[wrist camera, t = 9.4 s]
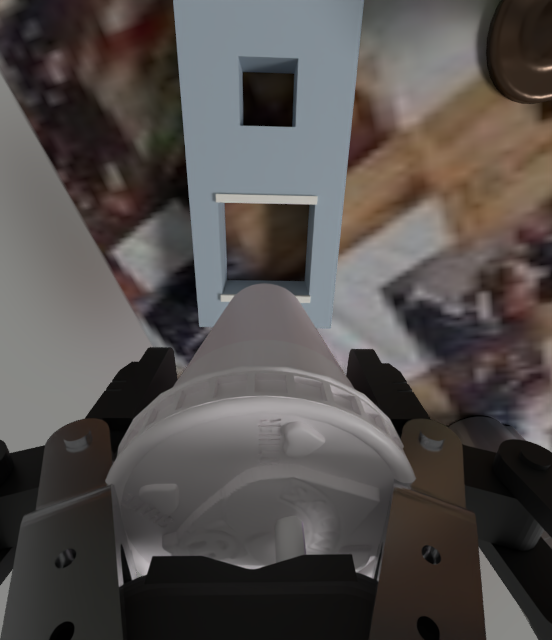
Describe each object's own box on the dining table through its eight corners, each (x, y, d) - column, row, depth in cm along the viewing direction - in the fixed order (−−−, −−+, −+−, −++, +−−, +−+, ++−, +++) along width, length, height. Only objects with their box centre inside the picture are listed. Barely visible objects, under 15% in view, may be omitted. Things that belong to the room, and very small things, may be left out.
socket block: (351, 8, 24) (367, -22, 20) (324, 311, 34) (331, 329, 30) (185, 2, 24) (169, -30, 20) (206, 309, 34) (198, 328, 30)
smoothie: (350, 354, 16) (649, 1026, 4) (230, 395, 17) (123, 1058, 4) (308, 229, 14) (827, 1027, 1) (168, 284, 15) (-510, 1104, 2)
